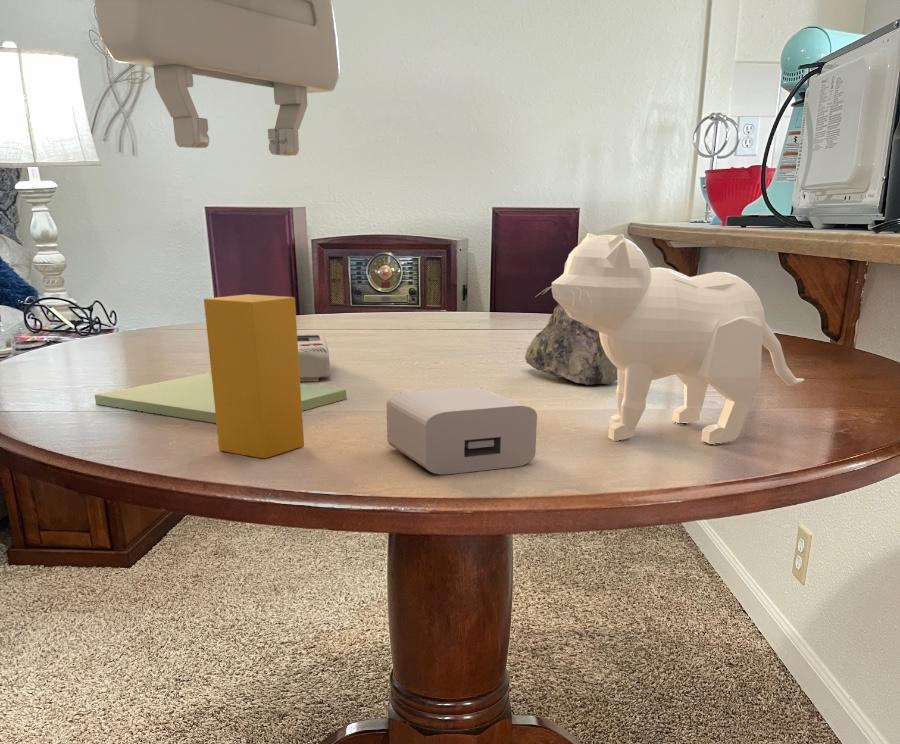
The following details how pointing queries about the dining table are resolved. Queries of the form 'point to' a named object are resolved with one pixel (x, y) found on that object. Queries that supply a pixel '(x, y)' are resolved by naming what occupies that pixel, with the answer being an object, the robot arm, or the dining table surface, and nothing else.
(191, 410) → the mat
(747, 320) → the cat figurine
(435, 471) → the charger
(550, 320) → the mineral rock
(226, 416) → the block
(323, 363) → the handheld gaming device
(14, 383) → the dining table surface
